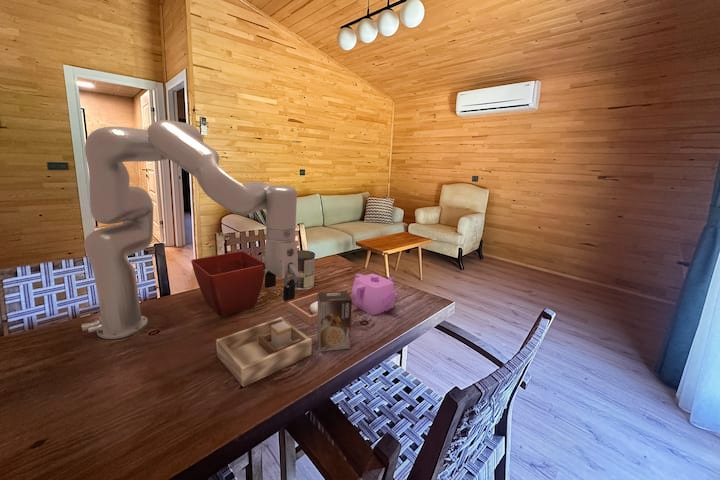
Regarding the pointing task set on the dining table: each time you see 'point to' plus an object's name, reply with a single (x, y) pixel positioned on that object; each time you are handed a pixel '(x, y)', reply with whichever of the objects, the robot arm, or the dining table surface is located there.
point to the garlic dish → (294, 308)
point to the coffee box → (334, 320)
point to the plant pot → (229, 281)
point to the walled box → (260, 352)
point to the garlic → (314, 307)
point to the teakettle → (373, 293)
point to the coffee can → (305, 269)
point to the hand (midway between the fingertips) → (279, 293)
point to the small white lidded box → (280, 334)
